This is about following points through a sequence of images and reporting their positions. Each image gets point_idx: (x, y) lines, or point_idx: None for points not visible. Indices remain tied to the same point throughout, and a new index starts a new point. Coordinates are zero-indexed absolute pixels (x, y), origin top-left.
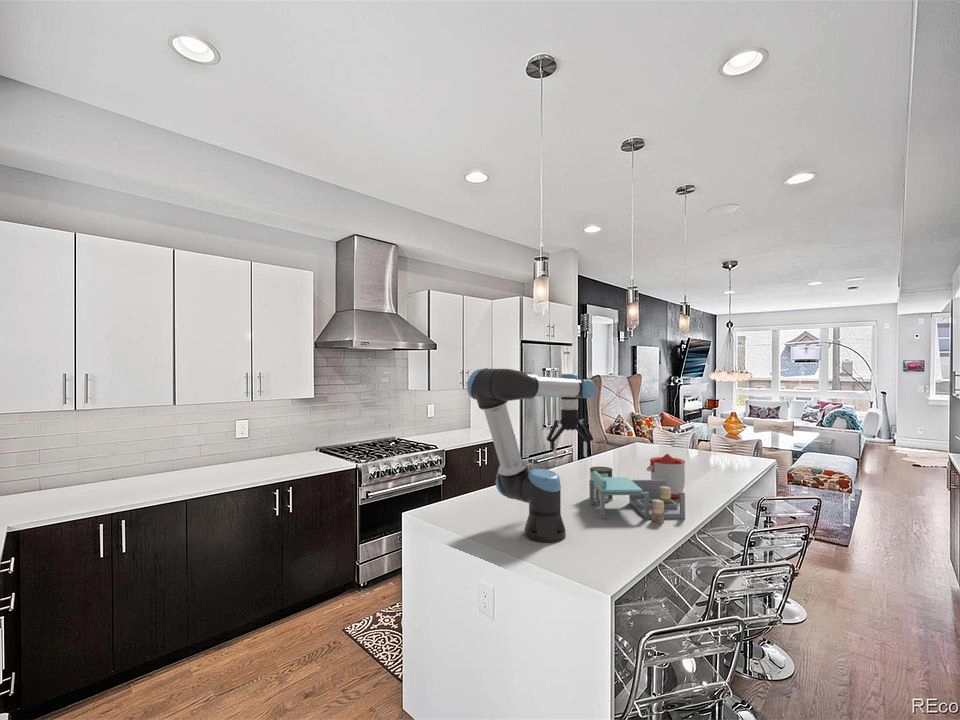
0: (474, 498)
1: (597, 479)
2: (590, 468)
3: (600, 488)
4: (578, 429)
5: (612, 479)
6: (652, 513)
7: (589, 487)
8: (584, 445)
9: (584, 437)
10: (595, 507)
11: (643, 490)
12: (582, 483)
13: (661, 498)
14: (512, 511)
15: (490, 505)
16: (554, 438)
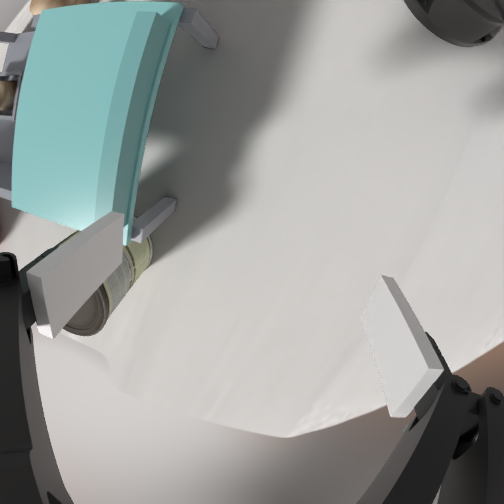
0: (466, 345)
1: (133, 127)
2: (102, 321)
3: (166, 54)
4: (2, 463)
5: (59, 181)
6: (76, 3)
7: (153, 229)
8: (68, 285)
9: (7, 321)
10: (175, 159)
11: (9, 174)
12: (132, 380)
13: (4, 88)
14: (458, 213)
15: (473, 284)
16: (458, 413)
